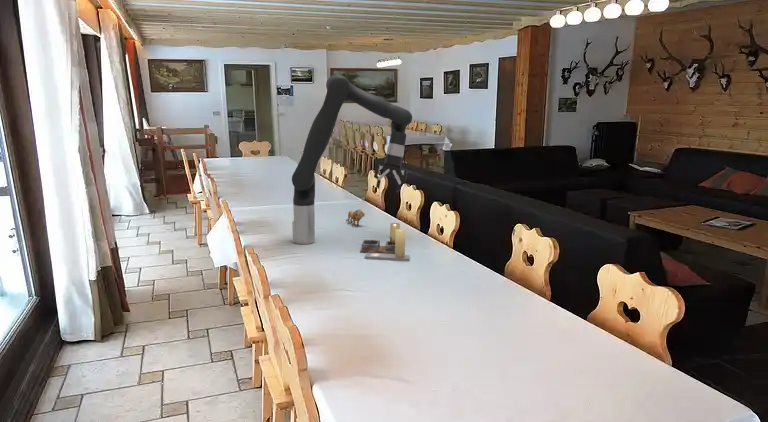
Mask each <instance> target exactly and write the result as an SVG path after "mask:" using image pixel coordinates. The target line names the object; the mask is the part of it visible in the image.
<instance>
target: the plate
mask: <svg viewBox="0 0 768 422" xmlns="http://www.w3.org/2000/svg"><path fill="white" fill-rule="evenodd" d="M405 252H406V229H404V228H400V229H396V230H395V254H381V253H365V254H364V259H365V260H377V261H378V260H380V261H397V262H398V261H400V262H401V261H402V262H403V261H405V262H410V257H411V255H410V254H406V253H405Z"/></svg>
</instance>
